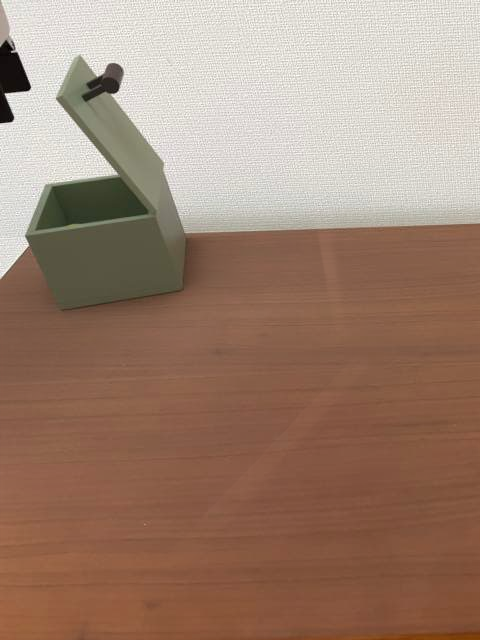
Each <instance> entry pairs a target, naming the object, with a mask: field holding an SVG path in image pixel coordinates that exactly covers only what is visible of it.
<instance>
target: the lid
mask: <svg viewBox="0 0 480 640" xmlns="http://www.w3.org/2000/svg"><path fill="white" fill-rule="evenodd" d="M124 74H125V70H124V68H123V67H122V66H121V65H120V64H119V63H116V62H109V63H108V64H107V65H106V67H105V70H104V71H103V73H102V74H100V75H98V76H97V75H96V73H95V72H94V71H93V69H92V68H91V67H90V65H89V64H88V63H87V61H86V60H85V59H84V58H83V57H82V55H81V54H79V55H77V56H74V57H73V59H72V61H71V63H70V66H69V68H68V70H67V72H66V74H65V77H64V79H63V81H62V84H61V85H60V87H59V90H58V92H57V94H56V96H55V100H56V102H57V103H58V104H59V105H60V106H61V108H63V110H64V111H65V112H66V114H67V115H68V116H69V117H70V118H71V120H72V121H73V122H74V123H75V124H76V125H77V127H78V128H79V129H80V130H81V131H82V133H83V134H84V135H85V136H86V138H87V139H88V140H89V141H90V143H91V144H92V145H93V146H94V148H96V149H97V151H98V152H99V154H101V155H102V157H103V158H104V159H105V161H107V163H108V164H109V165H110V166H111V167H112V169H113V170H114V171H115V172H116V174H118V175H119V176H120V177H121V178H122V180H123V181H124V182H125V183H126V184H127V186H128V187H129V188H130V189H131V190H132V192H133V193H134V194H135V195H136V196H137V198H138V199H139V200H140V201H141V202H142V204H143V205H144V206H145V207H146V208H147V210H148V211H149V212H150V213H151V214H152V213H154V212H156V211H157V209H158V202H159V195H160V188H161V182H162V175H163V170H164V167H165V162H164V161H163V159H162V158H161V157H160V156H159V154H158V153H157V152H156V151H155V149H154V148H153V147H152V145H151V144H150V143H149V141H148V140H147V139H146V137H145V136H144V135H143V133H142V132H141V131H140V130H139V129H138V127H137V126H136V125H135V123H134V122H133V121H132V120H131V118H130V117H129V115H128V114H127V113H126V112H125V110H123V108H122V107H121V106H120V104H119V103H118V102H117V100H116V99H115V98H114V96H113V95H116V94H117V93H118V92H119V91H120V90H121V85H122V81H123V79H124V76H125V75H124Z"/></svg>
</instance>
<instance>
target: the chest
mask: <svg viewBox="0 0 480 640" xmlns="http://www.w3.org/2000/svg"><path fill="white" fill-rule="evenodd" d="M71 224H79V225H72V226H68V225H71ZM24 237H25V240H26V241H27V244H28V246H29V248H30V250H31V252H32V254H33V256H34V258H35V260H36V263H37V264H38V266H39V268H40V270H41V273H42V275H43V277H44V279H45V281H46V283H47V285H48V287H49V289H50V291H51V293H52V296H53V297H54V299H55V302H56V304H57V305H58V307H59V310H60V311H64V310H71V309H77V308H85V307H89V306H97V305H102V304H108V303H114V302H119V301H125V300H132V299H137V298H143V297H151V296H156V295H160V294H161V295H162V294H167V293H174V292H180V291H183V286H184V274H185V263H186V262H185V260H186V251H187V250H186V248H187V235H186V232H185V229H184V226H183V223H182V220H181V217H180V215H179V211H178V209H177V206H176V203H175V199H174V196H173V194H172V191H171V189H170V186H169V182H168V179H167V177H166V173H165V170H164V169H163V175H162V182H161V188H160V195H159V202H158V209H157V211H156V212H154V213H152V214H151V213H150V212H149V211H148V210H147V208H146V207H145V206H144V205H143V204H142V202H141V201H140V200H139V199H138V198H137V196H136V195H135V194H134V193H133V192H132V190H131V189H130V188H129V187H128V186H127V184H126V183H125V182H124V181H123V180H122V178H121V177H120V176H119V175H118V173H116V174H111V175H103V176H96V177H95V176H94V177H89V178H82V179H73V180H66V181H60V182H53V183H46V184H44V186H43V190H42V192H41V194H40V197H39V200H38V202H37V204H36V207H35V210H34V212H33V214H32V217H31V219H30V222H29V225H28V227H27V229H26V232H25V234H24Z"/></svg>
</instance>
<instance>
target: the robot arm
mask: <svg viewBox="0 0 480 640" xmlns="http://www.w3.org/2000/svg"><path fill="white" fill-rule="evenodd" d="M10 31H11V29H10V23H9V20H8V17H7V14H6V11H5V9H4V5H3V3H2V0H0V124H10V123H13V122H14V120H15V115H14V112H13V111H12V108H11V105H10V103H9V101H8V99H7V95H6V94H15V93H24V92H30V91H31V89H32V85H31V82H30V80H29V77H28V74H27V72H26V70H25V66H24V65H23V64H24V63H23V62H22V59H21V57H20V55H19V52H18V51H17V47H16V44H15V42H14V40H13V38H12V37H11V36H10V33H11V32H10Z"/></svg>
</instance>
